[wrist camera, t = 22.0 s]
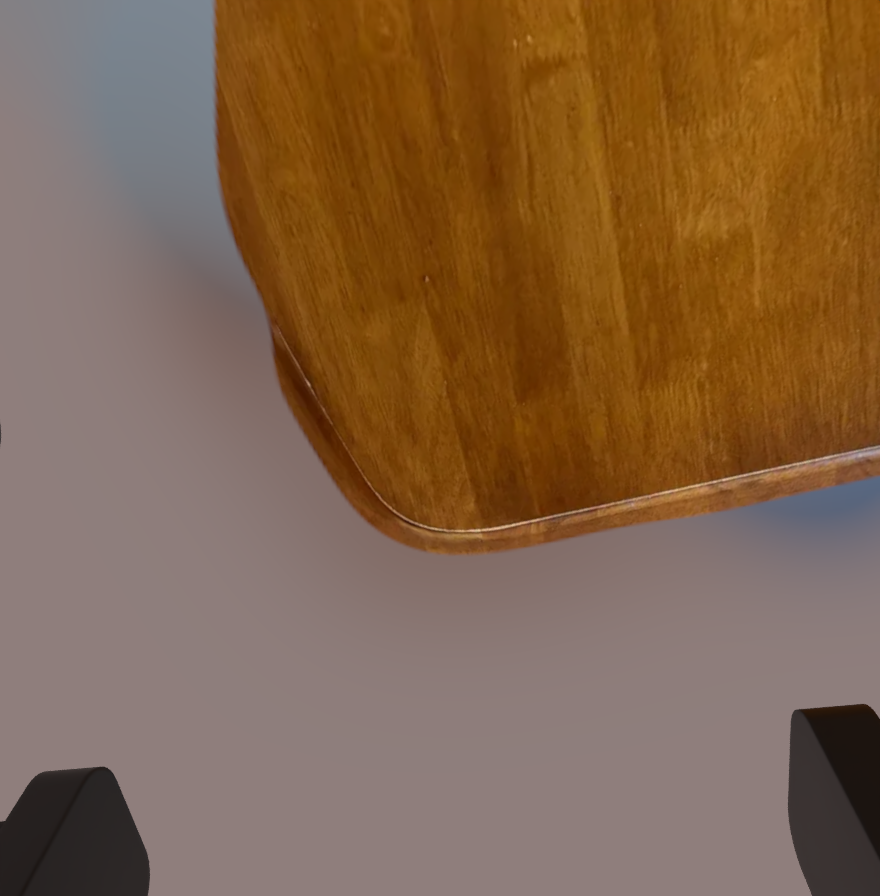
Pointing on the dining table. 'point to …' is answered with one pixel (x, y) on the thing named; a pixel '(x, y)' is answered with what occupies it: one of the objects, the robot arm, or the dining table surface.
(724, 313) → the dining table surface
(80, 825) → the robot arm
